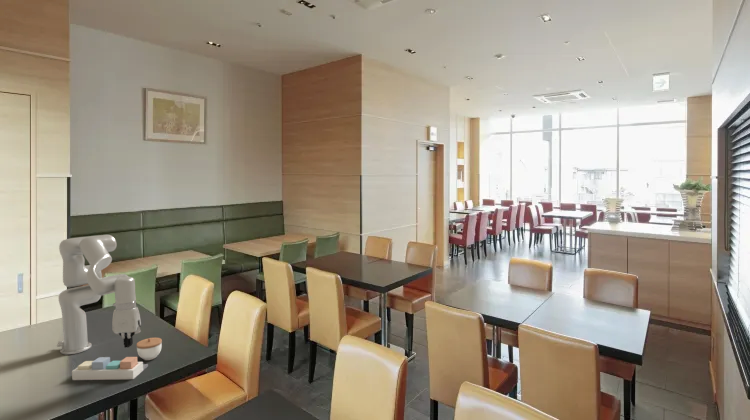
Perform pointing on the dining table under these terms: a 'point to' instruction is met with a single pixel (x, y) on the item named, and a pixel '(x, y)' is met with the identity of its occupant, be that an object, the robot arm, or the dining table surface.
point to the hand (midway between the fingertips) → (128, 346)
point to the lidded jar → (149, 348)
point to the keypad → (108, 373)
